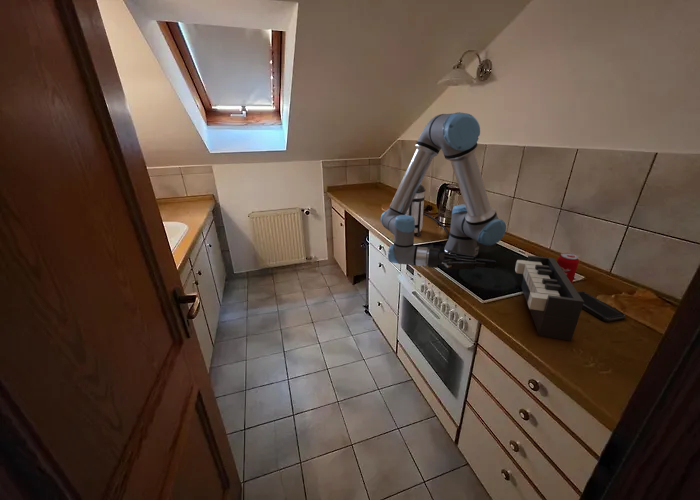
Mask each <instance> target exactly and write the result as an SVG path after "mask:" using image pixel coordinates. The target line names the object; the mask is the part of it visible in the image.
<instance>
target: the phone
mask: <svg viewBox="0 0 700 500" xmlns="http://www.w3.org/2000/svg"><path fill="white" fill-rule="evenodd" d="M577 292H578V294H579V295H580V297H581V298H582V299H583V301H584V303H583V306H582V310H584V311H586V312H588V313H589V314H591V315H593V316H594V317H596V318H598V319H599V320H601V321H603V322H605V323H606V322H607V323H610V322H616V321H621V320H624V319H625V318H626V314H625V313H624V312H622V311H620V310H618V309H616V308H615V307H613V306H611V305H609V304H607V303H605V302H603V301H602V300H600V299H598V298H596V297H595V296H592V295H591V294H589V293H587V292H585V291H577Z"/></svg>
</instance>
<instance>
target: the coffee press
mask: <svg viewBox="0 0 700 500" xmlns="http://www.w3.org/2000/svg"><path fill="white" fill-rule="evenodd" d="M425 193H426V188H425V186H424V185H423V184H422V183H421V184H420V186H419V188H418V190H417V192H416V194H415V196H414V198H413V200H412V202H411V204H410V206H409V208H408V210H407V212H406V214H405V215H409V216H412V217H414V219H415V231H414V234H415V235H416V236H417V237H421V236H422V234H421V231H422V230H423V223H424V220H423V219H424V214H423V212H424V207H425V205H424V204H425V197H426V196H425Z"/></svg>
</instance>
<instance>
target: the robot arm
mask: <svg viewBox="0 0 700 500" xmlns="http://www.w3.org/2000/svg"><path fill="white" fill-rule="evenodd" d="M480 136H481V126H480V123H479V121H478V119H477V118H476V117H475V116H474V115H472V114H470V113H468V112H460V111H459V112H455V113H454V112H453V113H441V114H437V115H435V116H434V117H433V118H431V119H430V120H429V121H428V122H427V124H425V126H424V127H423V129H422V131H421V133H420V135H419V137H418V139H417V141H416V143H415V151H414V153H413V156H412V158H411V159H410V162H409V163H408V167H407V169H406V170H405V172H404V174H403V177H402V179H401V181H400V183H399V185H398V188H397V190H396V191H395V194H394V196H393V198H392V201H391V202H390V205H389V207H388V208H387V210H385V211H383V212H382V214H381V215H380V218H379V219H380V223H381V225H382V226H383V227H384V229H386V230H387V231H389V232H390V233H391V234H392V235H393V236H394V237H393V238H394V242H393V243H392V244H389V247H388V251H387V252H388V253H387V259H388V262H390V263H393V264H398V265H408V266H415V267H419V268H421V267H428V268H433V269H437V268H438V267H439V266H442V267H445V269H446V270H447V271H448V270H475V269H476V268H485V269H496V260H495V259H486V258H477V257H478V256H479V250H480V246H479V245H478V243H479V244H480V245H484V246H487V247H488V246H494V245H496V244H497V243H499V242H500V241H502V239H503V238H504V237H505V234H506V232H507V224H506V222H505V221H504V220H503V219H501V218H499V216H498V213H497V210H496V208H495V206H492V205H490V201H489V197H488V193H487V191H486V187H485V183H484V180H483V176H482V172H481V169H480V166H479V165H480V164H479V162H478V158H477V155H476V150H477V148H478V146H479V145H478V142H479V137H480ZM441 151H442V154H443V157H444V159H445V160H448V161H450V164H451V167H452V170H453V173H454V176H455V178H456V182H457V185H458V188H459V192H460V194H461V197H462V199H463V200H462V201H463V203H464V204H457V205H454V206H453V207H452V211H451V219H450V230H449V231H448V230H447V228H446V226H444V224H442V223H441V222H440V221H439V220H438V219H436V218H435V217H433V216H431V215H429V214H427V213H426V212H424V211H423V215H425V216H427V217H429V218H430V219H432V220H433V221H435V222H436V223H438V224H439V226H440V227H442V228H443V230H444V231H445V232H446V235H447V240H446V243H445V245H444V247H443V248H444V249H443V251H444V252H440V251H441V250H440V248H435V247H430V248H429V247H425V246H415V245H414V243H415V242H414V240H415V233H414V231H415V219H414V217H412V216H409V215H405V214H406V212H407V210H408V208H409V206H410V204H411V202H412V200H413V198H414V196H415V194H416V192H417V190H418V188H419V186H420V184H421V185H422V182H423V180H424V178H425V176H426V174H427V172H428V170H429V168H430V166H431V164H432V161H433V159H434V157H437V156H439V153H440V152H441Z"/></svg>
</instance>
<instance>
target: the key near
mask: <svg viewBox="0 0 700 500" xmlns="http://www.w3.org/2000/svg"><path fill="white" fill-rule="evenodd" d="M548 295H549V294H541V293H533V292H530V295H529V299H528V304H527V307H528V306H529V307H528V310H529V309H533V310H540V311H544V309H545V306H546V302H547V298H548ZM552 296H557V295H552Z"/></svg>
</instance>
